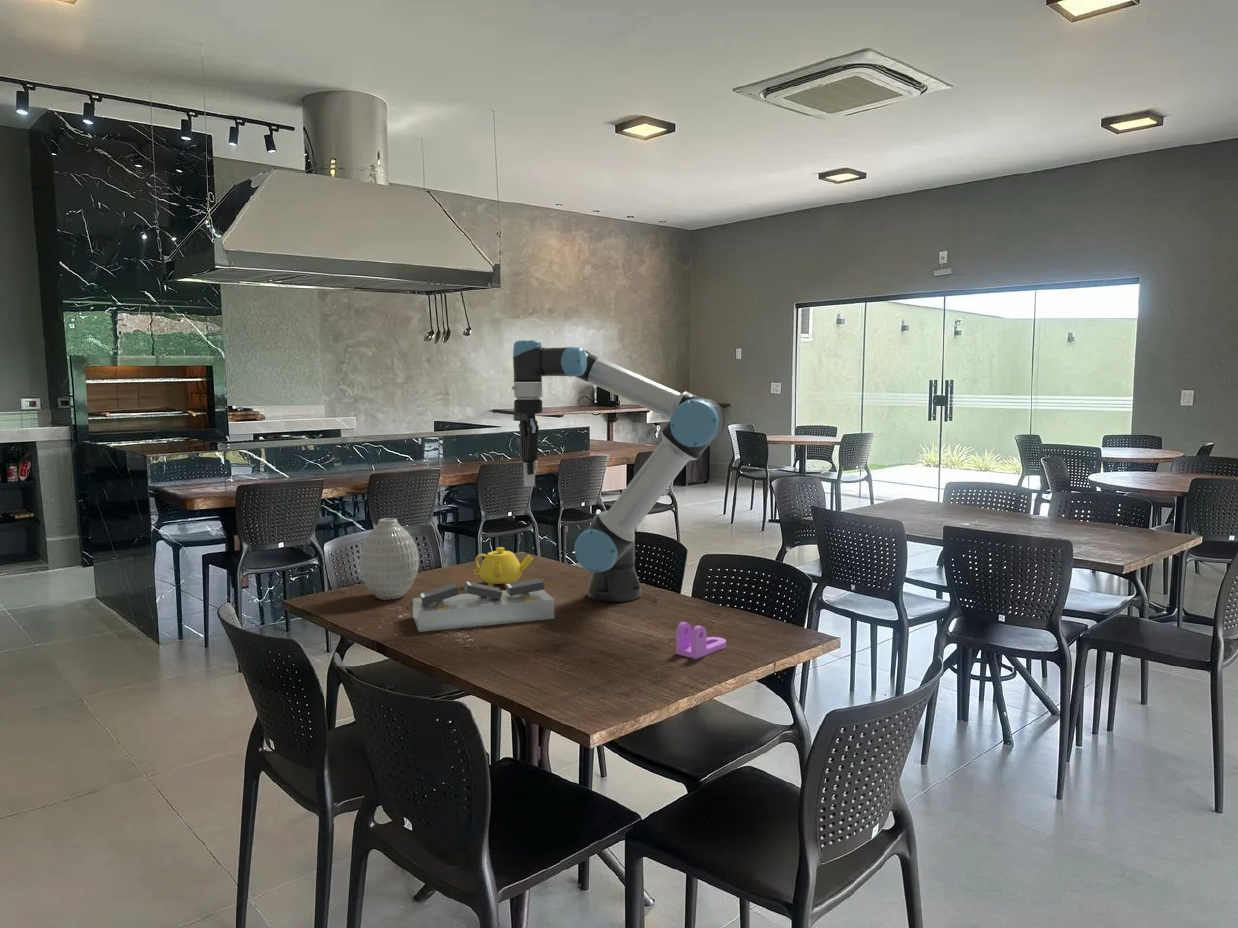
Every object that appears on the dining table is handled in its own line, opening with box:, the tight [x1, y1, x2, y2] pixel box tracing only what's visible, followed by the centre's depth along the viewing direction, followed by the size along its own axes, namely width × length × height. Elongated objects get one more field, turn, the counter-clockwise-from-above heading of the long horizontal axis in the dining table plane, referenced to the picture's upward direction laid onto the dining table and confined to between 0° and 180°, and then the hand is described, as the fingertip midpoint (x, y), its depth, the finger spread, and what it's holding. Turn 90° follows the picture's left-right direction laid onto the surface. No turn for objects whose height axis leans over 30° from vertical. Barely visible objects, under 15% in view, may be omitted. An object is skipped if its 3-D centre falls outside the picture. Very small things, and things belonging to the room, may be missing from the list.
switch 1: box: [419, 582, 460, 606], centre depth 216 cm, size 9×5×2 cm, turn 109°
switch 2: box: [462, 580, 503, 600], centre depth 220 cm, size 9×5×2 cm, turn 109°
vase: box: [359, 517, 420, 601], centre depth 242 cm, size 16×16×22 cm
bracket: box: [675, 621, 727, 660], centre depth 193 cm, size 13×6×7 cm, turn 137°
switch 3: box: [505, 577, 545, 596], centre depth 223 cm, size 9×5×2 cm, turn 109°
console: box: [412, 589, 555, 633], centre depth 220 cm, size 34×14×6 cm, turn 109°
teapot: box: [473, 546, 534, 588], centre depth 256 cm, size 14×14×11 cm
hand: (529, 485), depth 231 cm, fingers closed
